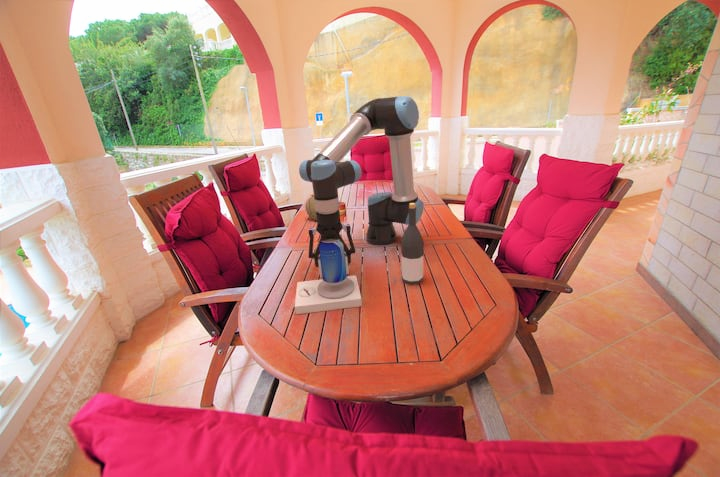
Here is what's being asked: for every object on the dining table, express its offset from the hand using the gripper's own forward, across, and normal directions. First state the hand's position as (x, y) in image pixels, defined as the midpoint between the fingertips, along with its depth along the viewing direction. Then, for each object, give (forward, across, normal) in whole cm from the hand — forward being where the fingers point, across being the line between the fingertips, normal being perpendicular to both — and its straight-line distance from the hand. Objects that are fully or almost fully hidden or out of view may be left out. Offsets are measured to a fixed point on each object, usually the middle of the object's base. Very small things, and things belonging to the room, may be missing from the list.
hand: (334, 273), depth 109 cm
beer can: (+3, 0, 0) cm, 3 cm away
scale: (+9, +3, 0) cm, 10 cm away
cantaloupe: (+9, +6, -89) cm, 90 cm away
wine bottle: (+10, -29, -5) cm, 31 cm away
